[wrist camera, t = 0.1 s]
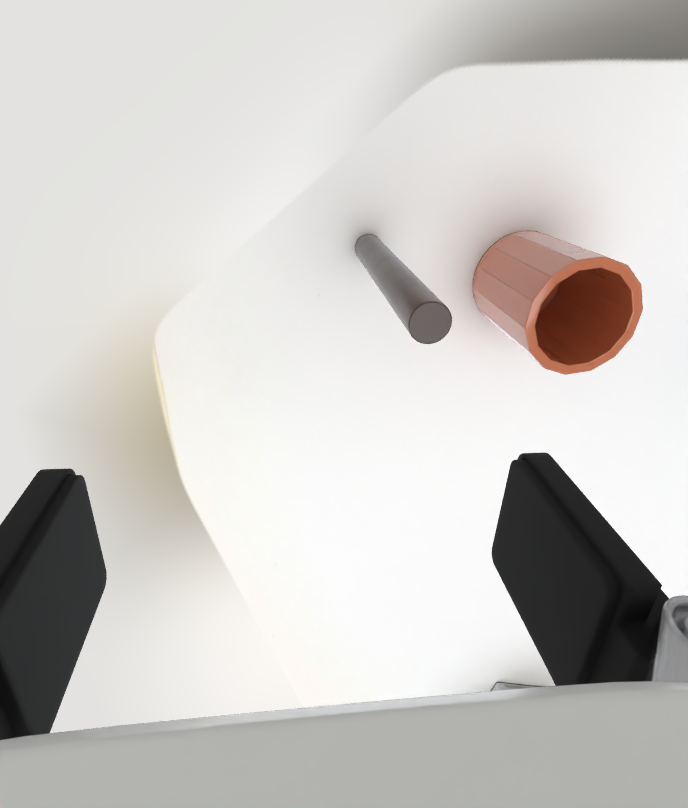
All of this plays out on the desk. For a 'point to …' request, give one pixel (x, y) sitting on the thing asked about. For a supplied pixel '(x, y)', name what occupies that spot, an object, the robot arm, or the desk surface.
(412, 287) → the stick
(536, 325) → the crock
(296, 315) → the desk surface
